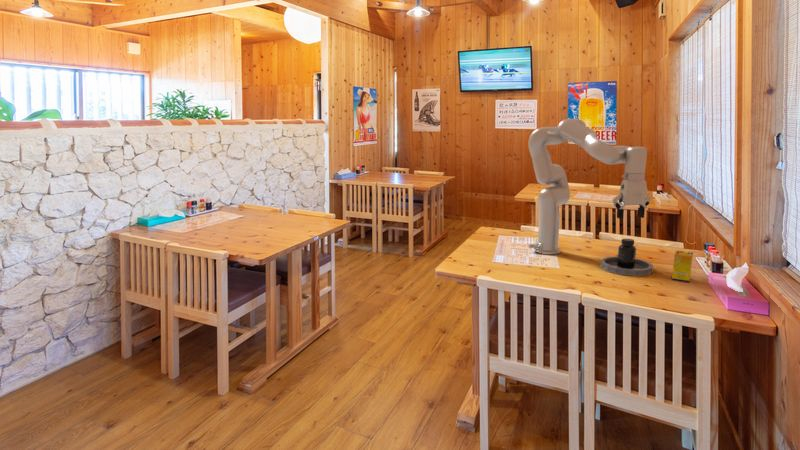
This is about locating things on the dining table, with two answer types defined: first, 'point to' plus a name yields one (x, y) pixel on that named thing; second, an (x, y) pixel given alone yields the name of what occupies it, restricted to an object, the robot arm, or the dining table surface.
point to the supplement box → (682, 266)
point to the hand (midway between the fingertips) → (630, 217)
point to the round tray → (639, 270)
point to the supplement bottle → (626, 254)
